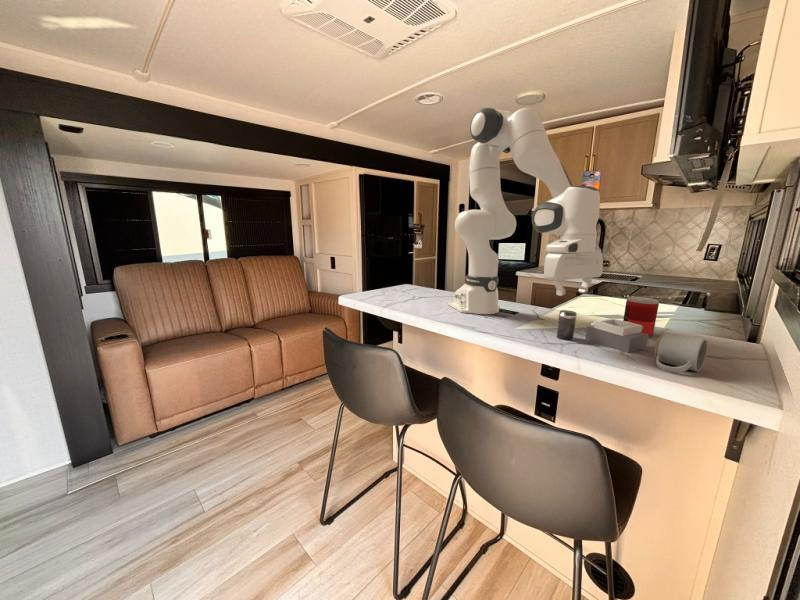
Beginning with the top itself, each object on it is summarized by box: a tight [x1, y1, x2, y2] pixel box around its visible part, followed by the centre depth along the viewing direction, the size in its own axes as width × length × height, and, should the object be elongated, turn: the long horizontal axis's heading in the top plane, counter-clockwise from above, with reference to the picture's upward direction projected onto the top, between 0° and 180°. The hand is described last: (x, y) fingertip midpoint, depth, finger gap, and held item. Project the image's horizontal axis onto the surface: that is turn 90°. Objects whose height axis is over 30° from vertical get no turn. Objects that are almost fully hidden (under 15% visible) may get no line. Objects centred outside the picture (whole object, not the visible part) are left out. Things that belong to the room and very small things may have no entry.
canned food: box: [622, 296, 660, 338], centre depth 97 cm, size 8×8×11 cm
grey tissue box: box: [585, 317, 649, 353], centre depth 88 cm, size 12×8×6 cm, turn 24°
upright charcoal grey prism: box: [556, 309, 577, 341], centre depth 92 cm, size 5×5×8 cm
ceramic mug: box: [654, 333, 709, 374], centre depth 73 cm, size 11×8×8 cm
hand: (572, 294), depth 90 cm, fingers open, 8 cm apart
